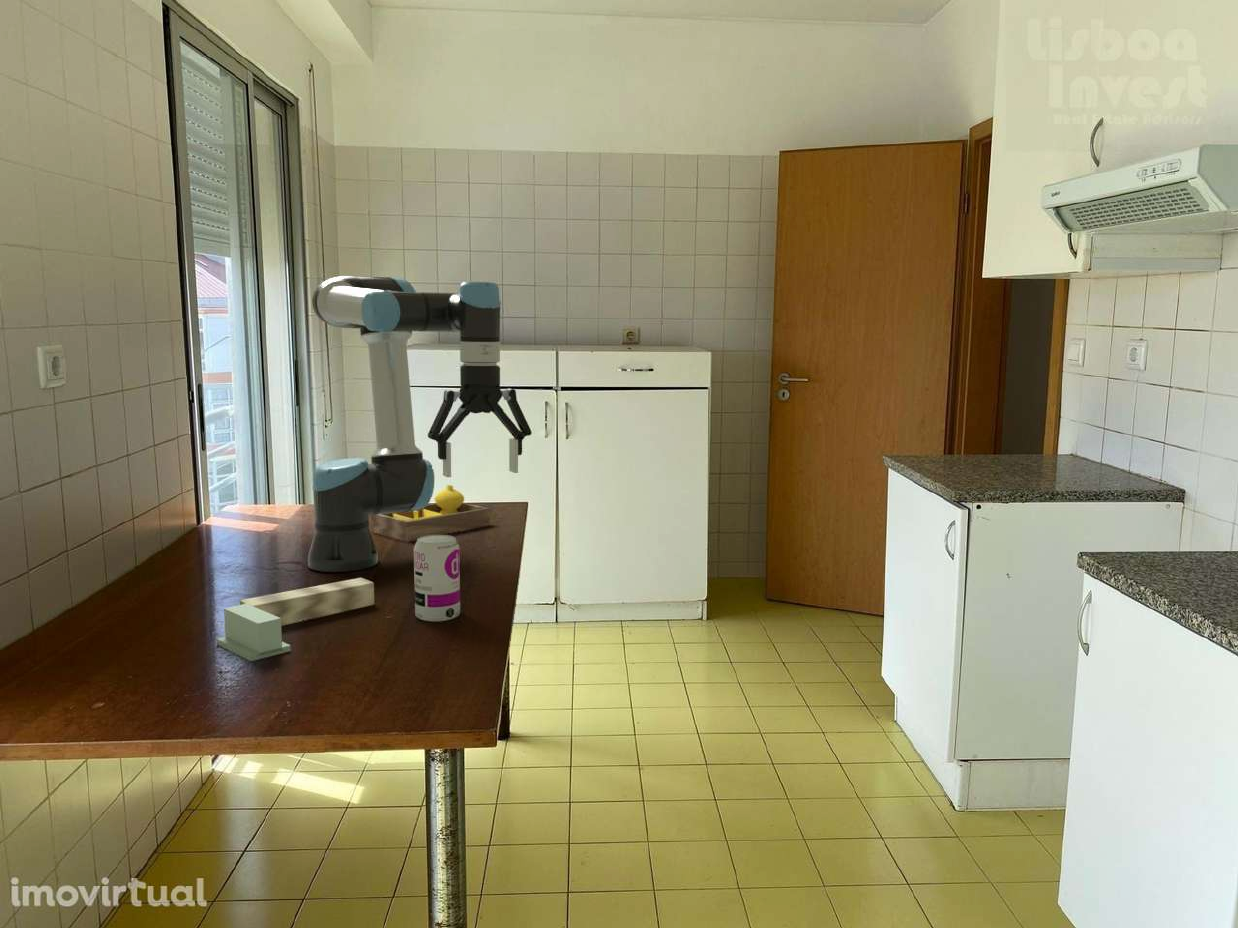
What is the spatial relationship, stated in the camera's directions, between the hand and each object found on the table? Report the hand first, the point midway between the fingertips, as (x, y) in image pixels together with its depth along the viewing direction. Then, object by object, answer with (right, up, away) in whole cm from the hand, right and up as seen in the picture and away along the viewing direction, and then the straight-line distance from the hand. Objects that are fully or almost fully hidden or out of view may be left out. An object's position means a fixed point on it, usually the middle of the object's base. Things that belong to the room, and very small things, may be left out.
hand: (480, 474), depth 187 cm
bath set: (-23, -15, +70) cm, 75 cm away
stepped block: (-35, -29, -25) cm, 51 cm away
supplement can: (-7, -27, -7) cm, 29 cm away
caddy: (-22, -16, +65) cm, 71 cm away
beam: (-31, -27, -6) cm, 42 cm away
